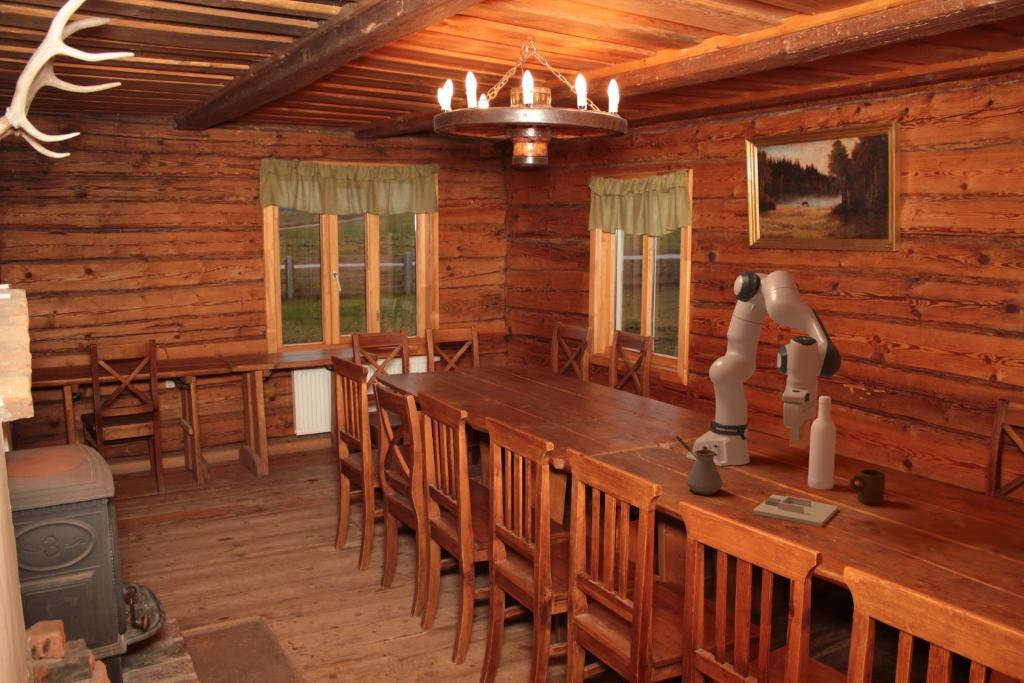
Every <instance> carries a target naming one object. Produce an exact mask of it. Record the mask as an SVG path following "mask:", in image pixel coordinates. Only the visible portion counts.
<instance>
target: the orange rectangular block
mask: <svg viewBox="0 0 1024 683" xmlns="http://www.w3.org/2000/svg"><path fill="white" fill-rule="evenodd" d="M810 437H811V419H808V420H807V421H805V422H804V424H803V425H801V426H800V439H799V440H794V439H793V432H792V428H789V443H788V444H789V447H790V448H795V449H796V448H797V449H802V450H805V449H807V448H808V447H810Z"/></svg>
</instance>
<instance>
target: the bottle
mask: <svg viewBox="0 0 1024 683" xmlns="http://www.w3.org/2000/svg"><path fill="white" fill-rule="evenodd" d="M831 405H832V398H831V396H828V395H821V396H819V398H818V417H816V419H814V420H813V422H812V424H811V425H810V436H809V457H808V458H809V459H808V476H807V485H808V487H810V488H812V489H814V490H822V491H827V490H828V491H829V490H832V489H833V488H834V481H835V479H834V478H835V477H834V475H835V474H834V473H835V460H836V459H835V457H836V444H837V443H836V437H837V426H836V425H835V422H834V421H833V420H832V418H831V407H832V406H831Z"/></svg>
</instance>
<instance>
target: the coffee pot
mask: <svg viewBox="0 0 1024 683" xmlns="http://www.w3.org/2000/svg"><path fill="white" fill-rule="evenodd" d="M675 438H676V440H675ZM672 441H674V442H676V441H678V443H680V444H681V445H682V447H683V448H685V449H686V450H687V451H688V452H691V454H692V455H693V456H694V457H695V458H696V460H694V461H695V462H694V464H693V466H692V468H691V470H690V472H689V474H688V476H687V478H686V479H685V480H686V485H687V487H688V489H690V490H691V491H692V492H693V493H695V494H699V495H713V494H716V493H717V492H718V491H719V490H721V488H722V487H723V481H722V478H721V475H720V473H719V471H718V467H717V465H715V462H714V460H713V458H714V455H715V454H716V453H715V452H714V451H710V450H697V451H696V452H695V453H694V452H693V451H692V450H693V449H691V447H690V446H689V445H688V443H686V442H685V441H684V440H683V439H682V438H680V436H678V435H675V436H674V437H673V440H672Z"/></svg>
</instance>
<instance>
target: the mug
mask: <svg viewBox="0 0 1024 683" xmlns="http://www.w3.org/2000/svg"><path fill="white" fill-rule="evenodd" d="M856 481H858V485H856ZM848 482H849V488H850V489H851V490H852V491H854V492H855V491H856V492H857V499H858V502H860V503H862V504H865V505H869V506H881V505H882V504H884V502H885V501H884V500H885V489H886V473H885V472H883V471H881V470H877V469H861V470H859V475H858V474H854V475H852V476H851V477H850V478H849V481H848Z"/></svg>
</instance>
